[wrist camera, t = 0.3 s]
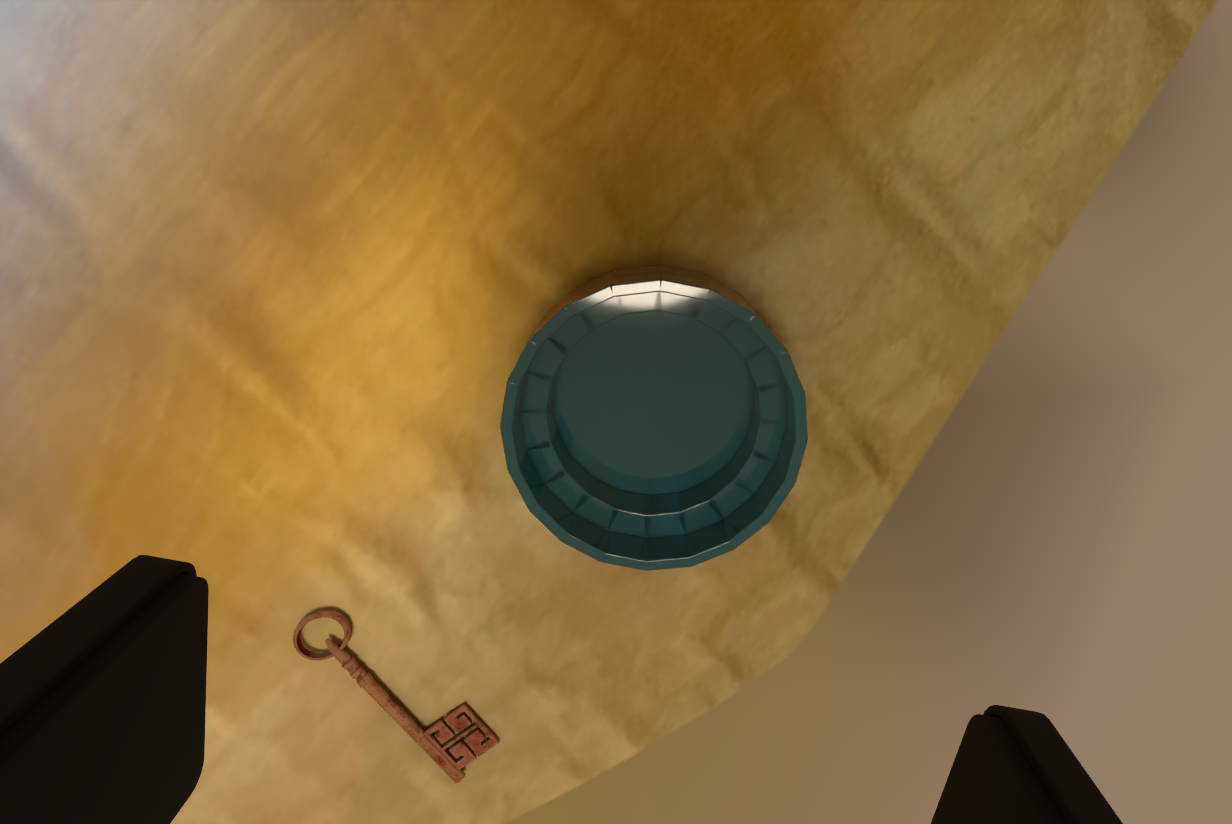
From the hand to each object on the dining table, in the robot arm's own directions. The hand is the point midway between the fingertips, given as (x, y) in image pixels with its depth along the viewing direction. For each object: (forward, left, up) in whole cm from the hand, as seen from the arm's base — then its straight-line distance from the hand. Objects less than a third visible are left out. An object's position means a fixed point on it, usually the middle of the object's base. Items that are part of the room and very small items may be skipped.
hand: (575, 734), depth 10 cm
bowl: (+7, -2, -36) cm, 37 cm away
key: (+18, -25, -36) cm, 47 cm away
